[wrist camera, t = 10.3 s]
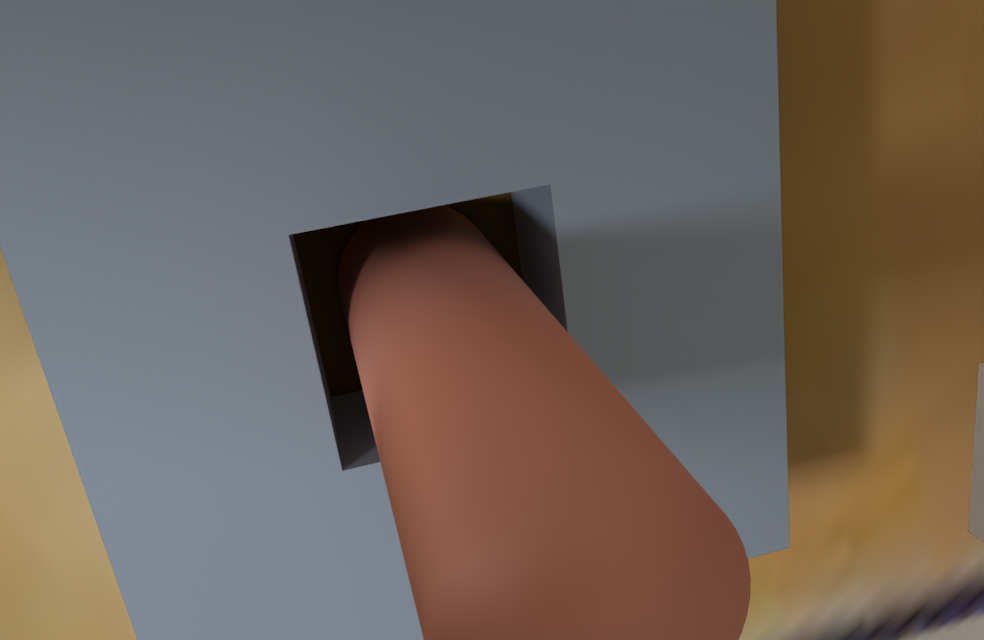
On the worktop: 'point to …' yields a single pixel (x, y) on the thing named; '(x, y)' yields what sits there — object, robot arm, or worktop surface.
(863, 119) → the worktop surface
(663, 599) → the peg
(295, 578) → the socket slab
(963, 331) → the worktop surface
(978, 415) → the robot arm
